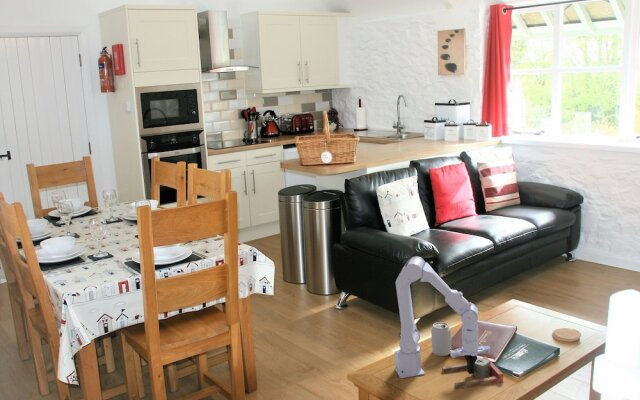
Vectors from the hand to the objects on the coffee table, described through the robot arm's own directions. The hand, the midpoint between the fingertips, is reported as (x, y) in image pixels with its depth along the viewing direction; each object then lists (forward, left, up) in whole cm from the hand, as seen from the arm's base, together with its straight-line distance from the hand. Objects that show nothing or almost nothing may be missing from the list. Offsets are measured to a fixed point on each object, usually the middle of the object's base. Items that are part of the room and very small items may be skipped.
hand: (470, 372), depth 223 cm
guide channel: (0, 0, -1) cm, 1 cm away
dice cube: (+4, 0, -2) cm, 4 cm away
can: (-3, +21, -2) cm, 21 cm away
